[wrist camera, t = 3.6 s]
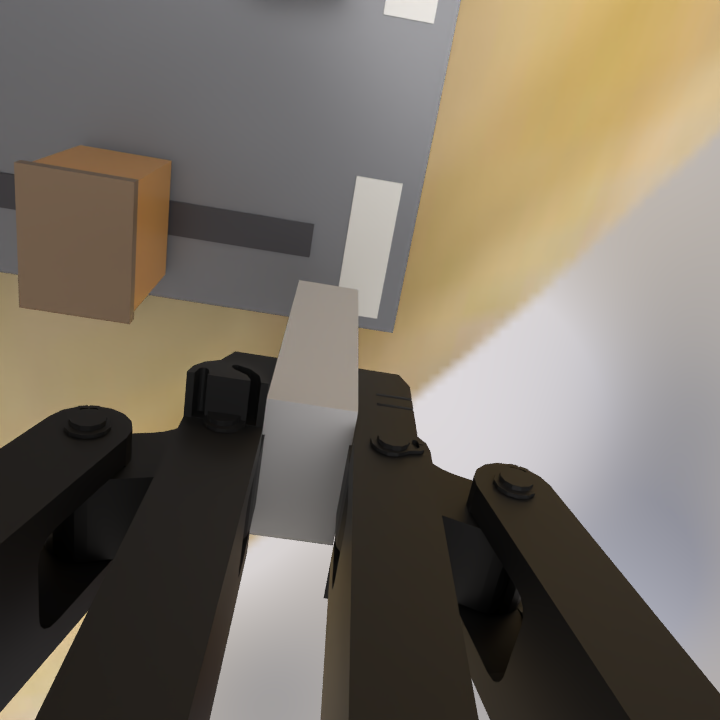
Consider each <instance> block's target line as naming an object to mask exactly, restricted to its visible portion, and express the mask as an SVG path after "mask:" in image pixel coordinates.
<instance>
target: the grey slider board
mask: <svg viewBox="0 0 720 720" xmlns="http://www.w3.org/2000/svg"><path fill="white" fill-rule="evenodd" d="M460 2H461V0H0V272H4V273H11V274H17V275H18V256H17V229H16V203H15V176H14V162H16V161H19V160H24V161H30V162H32V161H35V160H38V159H41V158H44V157H47V156H50V155H53V154H56V153H59V152H62V151H64V150H67V149H70V148H73V147H76V146H79V145H83V146H89V147H95V148H100V149H106V150H112V151H118V152H124V153H130V154H136V155H141V156H147V157H153V158H159V159H165V160H171V161H172V162H171V180H170V199H169V217H168V235H167V254H166V272H165V275H164V276H163V278H162V279H161V280H160V281H159V282H158V284H157V285H156V286H155V287H154V288H153V289H152V291H151V292H150V293H149V294H148V295H153V296H159V297H165V298H172V299H178V300H185V301H191V302H198V303H204V304H211V305H217V306H223V307H230V308H236V309H243V310H249V311H256V312H262V313H268V314H275V315H281V316H288V317H289V316H290V312H291V308H292V305H293V301H294V298H295V294H296V290H297V287H298V283H299V280H302V281H308V282H314V283H320V284H326V285H333V286H339V287H345V288H351V289H357V290H358V327H359V328H365V329H372V330H378V331H384V332H391V333H393V329H394V324H395V320H396V315H397V310H398V305H399V300H400V295H401V290H402V285H403V280H404V276H405V271H406V266H407V261H408V256H409V251H410V246H411V241H412V236H413V231H414V227H415V222H416V217H417V212H418V207H419V202H420V197H421V192H422V187H423V183H424V178H425V173H426V168H427V163H428V158H429V153H430V148H431V143H432V139H433V134H434V129H435V124H436V119H437V114H438V109H439V104H440V99H441V95H442V90H443V85H444V80H445V75H446V70H447V65H448V60H449V55H450V51H451V46H452V41H453V36H454V31H455V26H456V21H457V16H458V11H459V6H460Z"/></svg>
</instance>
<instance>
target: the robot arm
mask: <svg viewBox="0 0 720 720" xmlns="http://www.w3.org/2000/svg"><path fill="white" fill-rule="evenodd" d="M249 532H250V533H249ZM249 534H253V535H260V536H268V537H275V538H283V539H290V540H297V541H305V542H312V543H319V544H327V545H333V542H334V547H333V552H332V557H331V563H330V568H329V573H328V578H327V583H326V589H325V594H324V598H327V599H328V609H327V625H326V641H325V658H324V674H323V690H322V707H321V720H479V719H478V715H477V708H476V703H475V698H474V692H473V687H472V681H471V678H472V680H473V683H474V685H475V687H476V689H477V692H478V694H479V696H480V698H481V700H482V703H483V705H484V707H485V709H486V711H487V714H488V716H489V718H490V720H720V693H719V692H718V691H717V690H716V688H715V687H714V686H713V685H712V683H711V682H710V681H709V680H708V679H707V677H706V676H705V675H704V674H703V672H702V671H701V670H700V669H699V668H698V666H697V665H696V664H695V663H694V661H693V660H692V659H691V658H690V656H689V655H688V654H687V653H686V652H685V650H684V649H683V648H682V647H681V646H680V644H679V643H678V642H677V641H676V639H675V638H674V637H673V636H672V634H671V633H670V632H669V631H668V630H667V628H666V627H665V626H664V625H663V623H662V622H661V621H660V620H659V619H658V617H657V616H656V615H655V614H654V612H653V611H652V610H651V609H650V607H649V606H648V605H647V604H646V603H645V601H644V600H643V599H642V598H641V596H640V595H639V594H638V593H637V592H636V590H635V589H634V588H633V587H632V585H631V584H630V583H629V582H628V581H627V579H626V578H625V577H624V576H623V574H622V573H621V572H620V571H619V570H618V568H617V567H616V566H615V565H614V563H613V562H612V561H611V560H610V558H609V557H608V556H607V555H606V554H605V552H604V551H603V550H602V549H601V547H600V546H599V545H598V544H597V543H596V541H595V540H594V539H593V538H592V537H591V535H590V534H589V533H588V532H587V530H586V529H585V528H584V527H583V525H582V524H581V523H580V522H579V521H578V519H577V518H576V517H575V516H574V514H573V513H572V512H571V511H570V509H569V508H568V507H567V506H566V505H565V504H564V502H563V501H562V500H561V498H560V497H559V496H558V495H557V494H556V492H555V491H554V490H553V489H552V487H551V486H550V485H549V484H548V483H547V482H545V481H544V480H543V479H542V478H541V477H539V476H538V475H536V474H534V473H532V472H530V471H529V470H528V469H526V468H523V467H518V466H516V465H513V464H502V463H493V464H485V465H483V466H482V467H480V468H478V469H477V470H476V473H475V475H474V478H473V481H472V480H469V479H466V478H463V477H460V476H457V475H454V474H451V473H449V472H447V471H444V470H442V469H441V468H439V467H437V466H436V465H434V464H433V463H432V459H431V452H430V450H429V448H428V446H427V444H426V443H425V442H423V441H422V440H421V439H420V438H419V437H417V431H416V424H415V418H414V412H413V405H412V401H411V392H410V387H409V386H408V385H407V383H406V382H405V381H404V380H403V379H402V378H401V377H400V376H399V375H396V374H389V373H383V372H376V371H370V370H363V369H358V290H357V289H351V288H345V287H339V286H333V285H326V284H320V283H314V282H308V281H302V280H299V283H298V287H297V290H296V294H295V298H294V301H293V305H292V308H291V312H290V316H289V319H288V323H287V327H286V330H285V334H284V338H283V341H282V345H281V349H280V352H279V356H278V358H274V357H267V356H261V355H255V354H248V353H242V352H234V353H232V354H230V355H229V356H227V357H225V358H223V359H222V360H216V361H207V362H203V363H200V364H197V365H194V366H193V367H192V368H190V369H189V370H188V371H187V379H186V392H185V406H184V417H183V419H182V421H181V423H180V425H179V427H178V428H177V429H174V430H169V431H165V432H156V433H134V434H132V422H131V420H130V419H129V418H128V417H127V416H126V415H125V414H123V413H121V412H118V411H116V410H114V409H110V408H104V407H100V406H92V405H90V406H88V405H86V406H78V407H74V408H69V409H64V410H61V411H59V412H57V413H55V414H53V415H50V416H49V417H47V418H46V419H44V420H43V421H41V422H40V423H38V424H37V425H35V426H34V427H32V428H31V429H29V430H28V431H26V432H25V433H23V434H22V435H20V436H19V437H17V438H16V439H14V440H13V441H11V442H10V443H8V444H7V445H5V446H4V447H2V448H0V712H1V711H2V710H3V709H4V708H5V706H6V705H7V704H8V703H9V702H10V701H11V699H12V698H13V697H14V696H15V695H16V694H17V692H18V691H19V690H20V689H21V688H22V687H23V686H24V684H25V683H26V682H27V681H28V680H29V679H30V677H31V676H32V675H33V674H34V673H35V672H36V670H37V669H38V668H39V667H40V666H41V665H42V664H43V662H44V661H45V660H46V659H47V658H48V657H49V655H50V654H51V653H52V652H53V651H54V650H55V648H56V647H57V646H58V645H59V644H60V643H61V642H62V640H63V639H64V638H65V637H66V636H67V635H68V633H69V632H70V631H71V630H72V629H73V628H74V626H75V625H76V624H77V623H78V622H79V621H80V620H81V618H82V617H83V616H84V615H85V614H86V613H87V614H86V617H85V619H84V621H83V623H82V625H81V627H80V629H79V631H78V633H77V635H76V637H75V639H74V641H73V643H72V645H71V647H70V649H69V651H68V653H67V655H66V657H65V659H64V661H63V663H62V665H61V668H60V670H59V672H58V674H57V676H56V678H55V680H54V682H53V684H52V686H51V688H50V690H49V692H48V694H47V696H46V698H45V700H44V702H43V704H42V706H41V708H40V710H39V712H38V714H37V716H36V719H35V720H210V715H211V711H212V706H213V702H214V697H215V693H216V688H217V684H218V679H219V675H220V671H221V666H222V661H223V657H224V652H225V648H226V644H227V639H228V635H229V630H230V625H231V621H232V617H233V612H234V608H235V603H236V599H237V594H238V590H239V585H240V581H241V577H242V572H243V568H244V563H245V559H246V554H247V548H248V540H249ZM334 536H335V541H334ZM87 611H88V612H87Z"/></svg>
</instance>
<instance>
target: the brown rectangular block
mask: <svg viewBox="0 0 720 720" xmlns="http://www.w3.org/2000/svg"><path fill="white" fill-rule="evenodd" d="M171 162H172V161H171V160H165V159H159V158H153V157H147V156H141V155H136V154H130V153H124V152H118V151H112V150H106V149H100V148H95V147H89V146H83V145H79V146H76V147H73V148H70V149H67V150H64V151H62V152H59V153H56V154H53V155H50V156H47V157H44V158H41V159H38V160H35V161H32V162H30V161H24V160H19V161H16V162H14V176H15V203H16V229H17V256H18V283H19V307H21V308H27V309H34V310H40V311H47V312H54V313H60V314H67V315H73V316H80V317H87V318H93V319H100V320H106V321H113V322H120V323H126V324H130V323H131V322H132V320H133V319H134V311H135V310H136V308H137V307H138V306H139V305H140V304H141V302H142V301H143V300H144V299H145V298H146V297H147V295H148V294H149V293H150V292H151V291H152V289H153V288H154V287H155V286H156V285H157V284H158V282H159V281H160V280H161V279H162V278H163V276H164V275H165V272H166V254H167V235H168V217H169V199H170V180H171Z"/></svg>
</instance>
